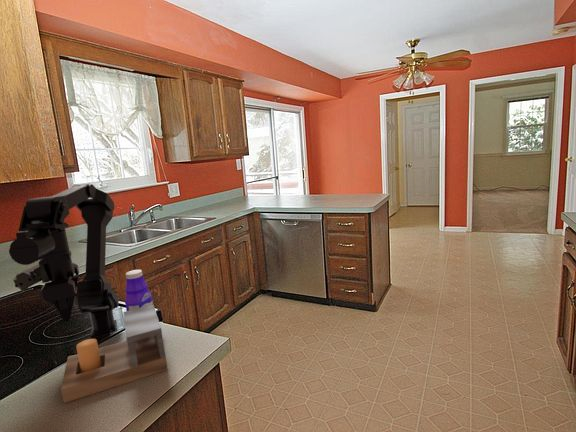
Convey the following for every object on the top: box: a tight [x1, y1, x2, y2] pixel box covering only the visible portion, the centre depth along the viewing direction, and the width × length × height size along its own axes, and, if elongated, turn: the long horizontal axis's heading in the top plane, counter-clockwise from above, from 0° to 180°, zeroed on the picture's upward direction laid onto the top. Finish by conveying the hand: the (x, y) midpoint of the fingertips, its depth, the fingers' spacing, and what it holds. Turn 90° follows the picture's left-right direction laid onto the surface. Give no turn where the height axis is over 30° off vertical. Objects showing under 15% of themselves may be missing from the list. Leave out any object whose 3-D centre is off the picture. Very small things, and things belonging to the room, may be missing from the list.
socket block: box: [60, 304, 169, 404], centre depth 81 cm, size 15×20×10 cm
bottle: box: [124, 269, 154, 311], centre depth 98 cm, size 7×6×17 cm
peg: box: [75, 338, 102, 373], centre depth 79 cm, size 4×4×8 cm
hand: (68, 313), depth 86 cm, fingers open, 9 cm apart
